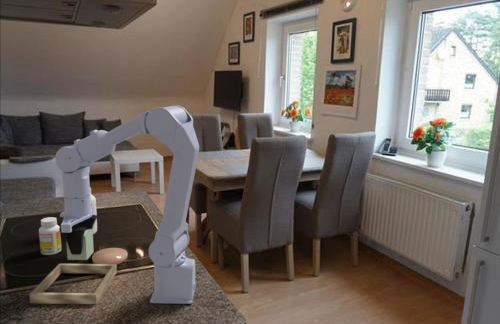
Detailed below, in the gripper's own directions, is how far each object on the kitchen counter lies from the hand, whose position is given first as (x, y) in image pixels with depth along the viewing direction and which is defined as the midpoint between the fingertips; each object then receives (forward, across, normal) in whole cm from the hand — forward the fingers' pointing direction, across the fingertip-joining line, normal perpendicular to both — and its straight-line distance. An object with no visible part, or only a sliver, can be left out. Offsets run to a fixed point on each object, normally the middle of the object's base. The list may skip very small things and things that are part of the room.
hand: (80, 249), depth 94 cm
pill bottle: (+9, -31, -11) cm, 34 cm away
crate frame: (+9, +2, 0) cm, 9 cm away
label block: (+2, 0, 0) cm, 2 cm away
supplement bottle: (+9, -17, -15) cm, 24 cm away
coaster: (+9, -13, +3) cm, 15 cm away
